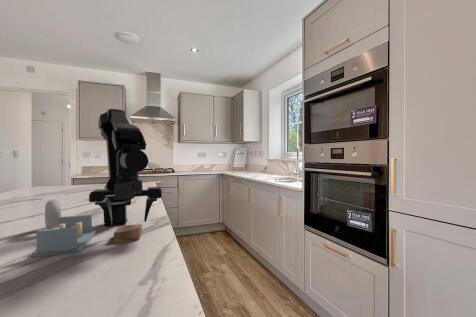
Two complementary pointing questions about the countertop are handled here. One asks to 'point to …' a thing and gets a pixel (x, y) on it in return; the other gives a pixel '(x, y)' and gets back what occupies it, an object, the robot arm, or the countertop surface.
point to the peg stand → (65, 236)
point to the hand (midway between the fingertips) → (128, 223)
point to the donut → (52, 214)
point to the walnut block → (128, 233)
